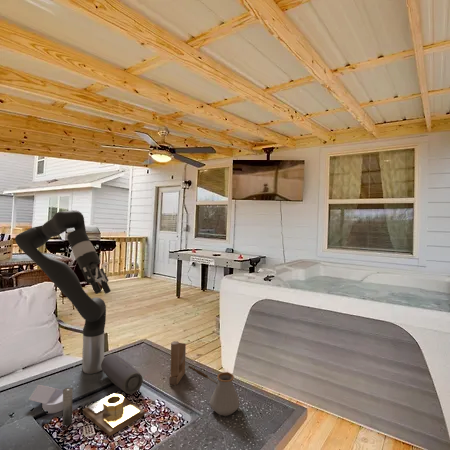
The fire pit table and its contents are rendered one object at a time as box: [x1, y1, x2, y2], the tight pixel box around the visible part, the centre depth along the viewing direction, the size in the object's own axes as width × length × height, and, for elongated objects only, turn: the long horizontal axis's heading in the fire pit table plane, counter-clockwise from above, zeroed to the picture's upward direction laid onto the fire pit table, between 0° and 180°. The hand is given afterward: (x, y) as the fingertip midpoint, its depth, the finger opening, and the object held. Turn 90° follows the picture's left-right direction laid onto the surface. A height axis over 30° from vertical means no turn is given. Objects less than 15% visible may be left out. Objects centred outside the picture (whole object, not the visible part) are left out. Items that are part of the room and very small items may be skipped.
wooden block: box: [168, 340, 187, 386], centre depth 139 cm, size 4×11×18 cm, turn 168°
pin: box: [62, 387, 73, 427], centre depth 108 cm, size 3×3×12 cm
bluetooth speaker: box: [101, 353, 144, 395], centre depth 133 cm, size 23×9×10 cm, turn 44°
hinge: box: [86, 392, 140, 429], centre depth 114 cm, size 17×11×4 cm, turn 52°
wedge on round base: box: [28, 384, 64, 414], centre depth 118 cm, size 9×7×13 cm
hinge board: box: [82, 392, 145, 437], centre depth 114 cm, size 18×14×2 cm
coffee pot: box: [186, 365, 240, 417], centre depth 119 cm, size 21×12×15 cm, turn 77°
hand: (103, 292), depth 115 cm, fingers open, 8 cm apart
